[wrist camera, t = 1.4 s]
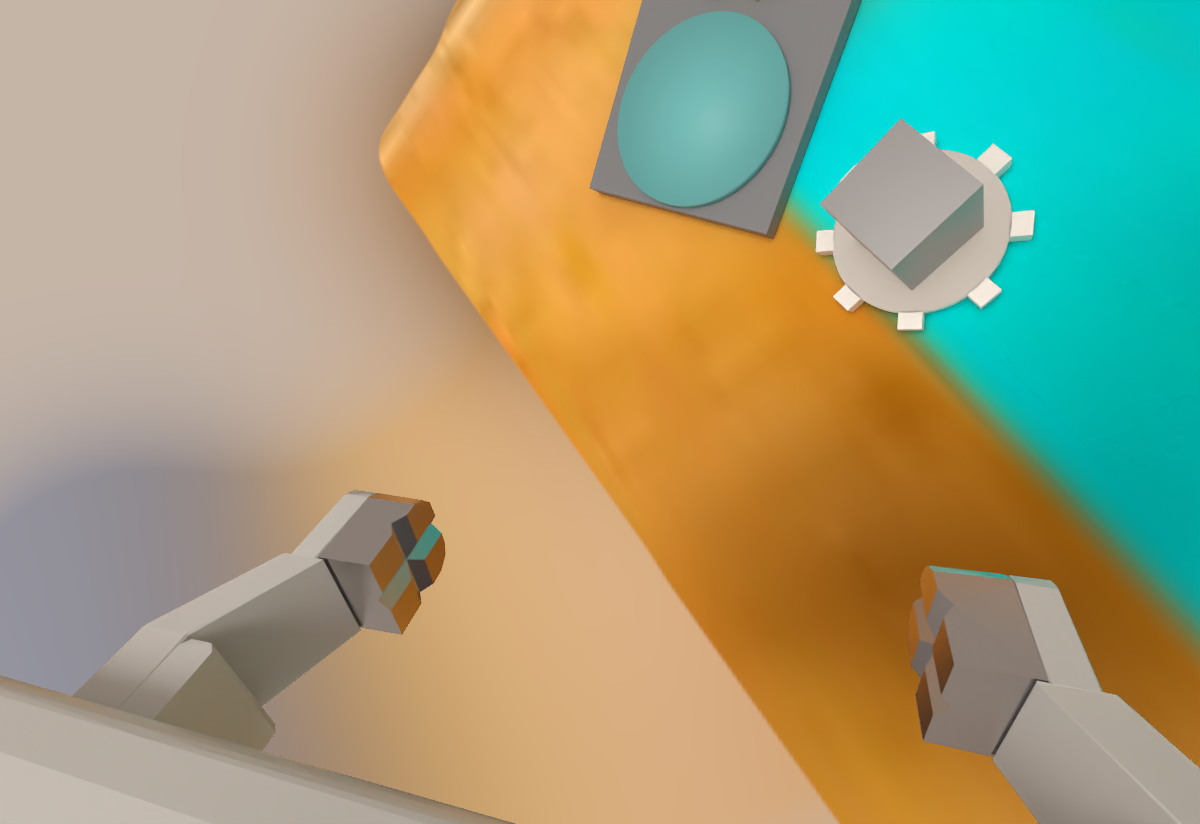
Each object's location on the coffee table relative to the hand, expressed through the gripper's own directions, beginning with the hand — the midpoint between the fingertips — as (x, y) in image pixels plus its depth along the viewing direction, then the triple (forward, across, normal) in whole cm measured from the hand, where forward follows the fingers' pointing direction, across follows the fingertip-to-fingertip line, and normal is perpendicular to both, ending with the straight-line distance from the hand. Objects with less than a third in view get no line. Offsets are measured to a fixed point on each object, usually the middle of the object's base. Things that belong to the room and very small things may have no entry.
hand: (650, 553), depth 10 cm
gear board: (+40, +2, -6) cm, 40 cm away
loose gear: (+30, -9, +5) cm, 32 cm away
